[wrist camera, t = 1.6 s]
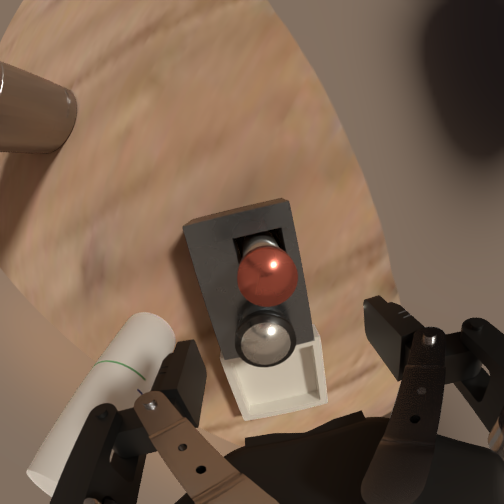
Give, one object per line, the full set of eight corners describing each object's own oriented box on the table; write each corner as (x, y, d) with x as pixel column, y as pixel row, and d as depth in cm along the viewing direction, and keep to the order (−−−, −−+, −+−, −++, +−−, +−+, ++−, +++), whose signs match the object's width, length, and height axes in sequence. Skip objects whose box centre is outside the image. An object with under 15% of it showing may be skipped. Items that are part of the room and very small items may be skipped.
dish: (244, 406, 37) (244, 420, 34) (221, 344, 34) (219, 358, 31) (323, 389, 36) (328, 402, 34) (314, 324, 34) (320, 336, 31)
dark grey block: (226, 336, 34) (223, 378, 26) (192, 219, 30) (174, 232, 22) (305, 319, 33) (321, 357, 25) (281, 197, 30) (295, 203, 22)
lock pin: (244, 267, 31) (245, 312, 21) (235, 230, 30) (230, 257, 20) (282, 259, 31) (302, 298, 20) (274, 221, 30) (291, 242, 19)
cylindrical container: (141, 362, 34) (74, 513, 10) (115, 320, 33) (11, 463, 8) (184, 351, 34) (135, 528, 10) (159, 305, 32) (62, 479, 8)
